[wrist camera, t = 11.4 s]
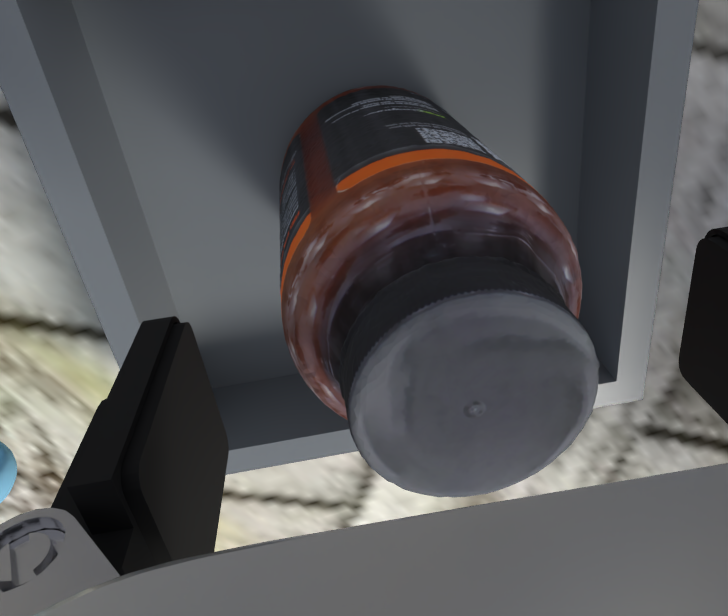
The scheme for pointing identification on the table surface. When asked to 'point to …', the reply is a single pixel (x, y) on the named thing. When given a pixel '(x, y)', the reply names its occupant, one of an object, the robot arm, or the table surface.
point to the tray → (275, 130)
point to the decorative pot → (6, 471)
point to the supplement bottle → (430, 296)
